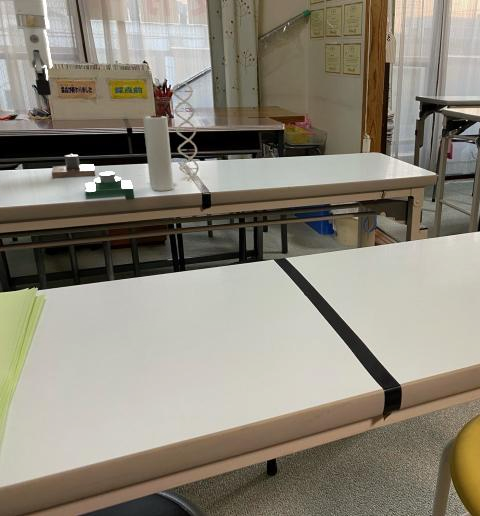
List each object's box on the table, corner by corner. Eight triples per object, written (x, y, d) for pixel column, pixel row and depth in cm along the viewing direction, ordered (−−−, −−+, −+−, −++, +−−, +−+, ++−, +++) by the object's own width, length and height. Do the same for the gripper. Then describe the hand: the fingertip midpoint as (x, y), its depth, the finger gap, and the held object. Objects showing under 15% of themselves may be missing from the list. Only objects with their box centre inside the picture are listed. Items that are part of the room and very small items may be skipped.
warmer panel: (53, 182, 160) (51, 172, 159) (54, 175, 168) (52, 166, 167) (95, 179, 165) (94, 169, 164) (94, 173, 173) (93, 163, 172)
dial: (80, 168, 165) (77, 155, 163) (66, 169, 163) (63, 156, 162) (80, 166, 168) (78, 153, 166) (66, 167, 167) (64, 153, 165)
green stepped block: (87, 203, 139) (84, 184, 137) (86, 194, 147) (83, 177, 145) (134, 199, 144) (132, 181, 142) (131, 191, 152) (129, 174, 150)
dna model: (196, 181, 166) (188, 83, 155) (177, 180, 166) (167, 83, 155) (202, 177, 172) (195, 82, 161) (183, 176, 172) (175, 82, 162)
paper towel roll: (175, 190, 154) (169, 117, 147) (154, 192, 151) (146, 117, 144) (170, 185, 160) (164, 114, 152) (150, 187, 157) (142, 115, 150)
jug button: (100, 182, 141) (99, 175, 140) (99, 179, 145) (98, 172, 144) (116, 181, 143) (115, 174, 142) (115, 178, 146) (114, 171, 146)
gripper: (47, 23, 134) (58, 96, 140) (50, 25, 146) (60, 93, 153) (13, 21, 131) (26, 96, 137) (20, 24, 143) (31, 92, 150)
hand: (44, 94), depth 145 cm, fingers closed
